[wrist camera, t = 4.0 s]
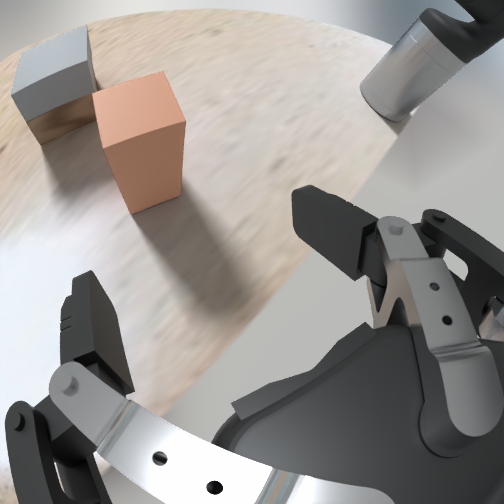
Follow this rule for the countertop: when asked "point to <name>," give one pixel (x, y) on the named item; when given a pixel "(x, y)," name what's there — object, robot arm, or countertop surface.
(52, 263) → the countertop surface
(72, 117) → the tower bottom slab
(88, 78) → the tower top slab
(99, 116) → the pillar
